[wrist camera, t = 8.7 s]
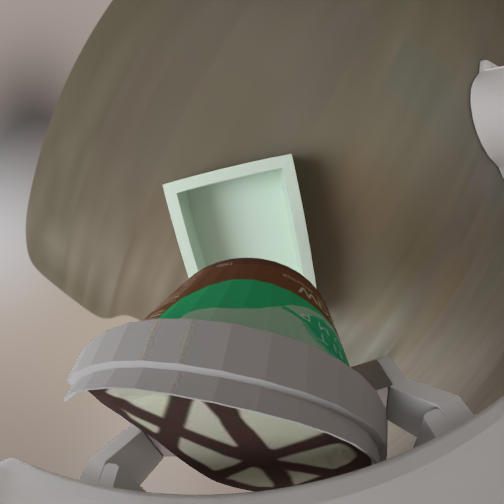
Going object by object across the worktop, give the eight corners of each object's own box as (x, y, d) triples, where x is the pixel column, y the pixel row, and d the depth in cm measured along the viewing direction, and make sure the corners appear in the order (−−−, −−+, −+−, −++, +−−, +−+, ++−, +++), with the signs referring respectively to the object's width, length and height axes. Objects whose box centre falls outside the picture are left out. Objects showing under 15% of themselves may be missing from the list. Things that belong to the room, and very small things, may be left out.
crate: (282, 156, 27) (291, 153, 22) (311, 308, 32) (322, 330, 27) (175, 182, 27) (162, 184, 23) (218, 328, 32) (214, 353, 27)
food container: (390, 333, 15) (448, 473, 6) (314, 387, 17) (319, 524, 8) (239, 181, 13) (137, 242, 4) (164, 264, 15) (49, 388, 6)
